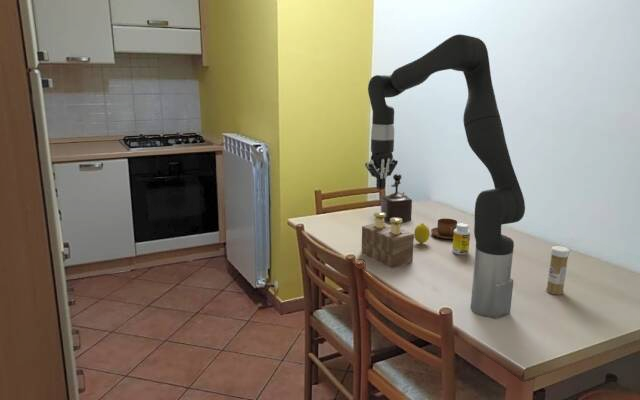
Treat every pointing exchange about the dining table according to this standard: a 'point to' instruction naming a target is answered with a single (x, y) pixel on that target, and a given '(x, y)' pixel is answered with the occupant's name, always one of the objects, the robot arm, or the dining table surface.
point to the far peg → (379, 219)
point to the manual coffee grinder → (396, 203)
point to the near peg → (395, 225)
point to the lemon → (421, 233)
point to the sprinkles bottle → (557, 270)
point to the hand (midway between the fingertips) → (380, 188)
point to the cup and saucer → (445, 228)
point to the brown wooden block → (387, 245)
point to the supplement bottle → (461, 239)
